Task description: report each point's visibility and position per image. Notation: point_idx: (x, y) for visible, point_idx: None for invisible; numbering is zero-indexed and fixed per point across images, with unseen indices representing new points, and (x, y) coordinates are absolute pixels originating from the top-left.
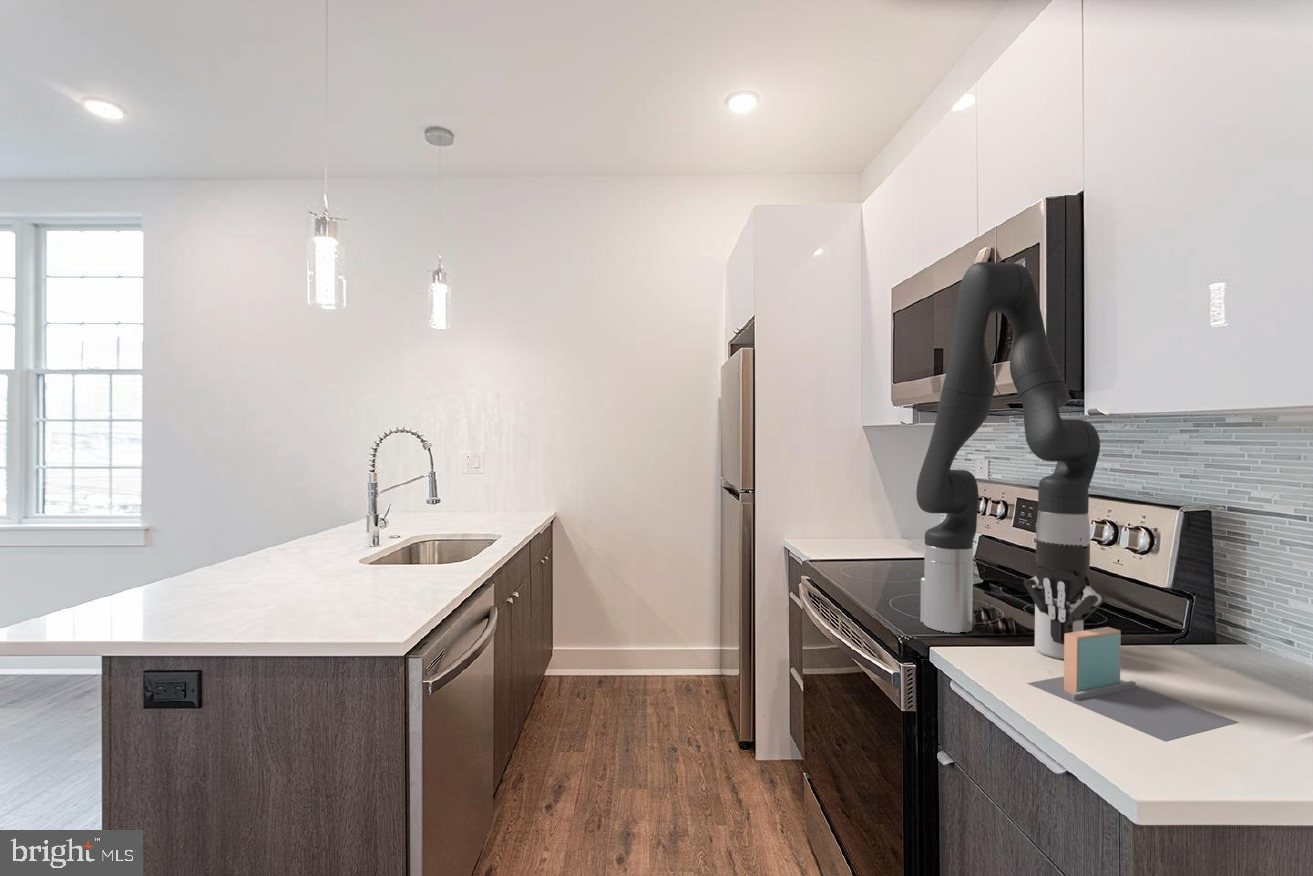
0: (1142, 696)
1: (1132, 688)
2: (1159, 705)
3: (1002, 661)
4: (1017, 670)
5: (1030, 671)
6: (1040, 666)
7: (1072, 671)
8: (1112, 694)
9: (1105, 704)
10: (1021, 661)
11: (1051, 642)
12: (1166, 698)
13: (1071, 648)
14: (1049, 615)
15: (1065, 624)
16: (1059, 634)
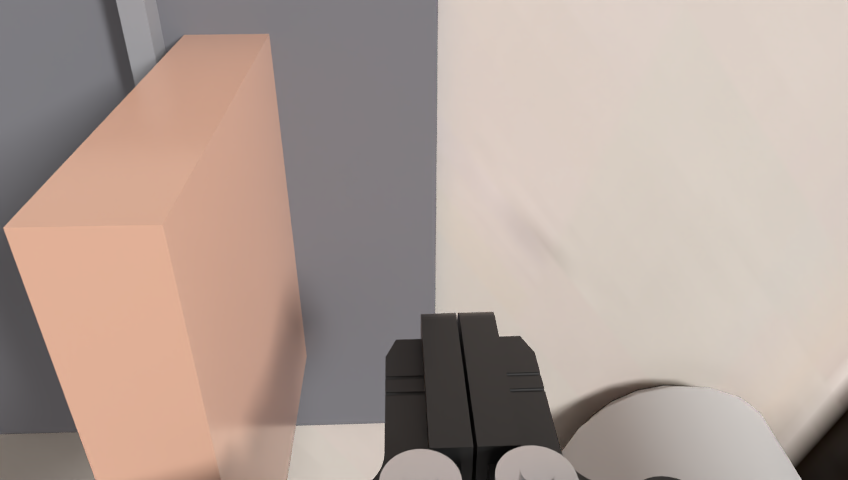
0: None
1: None
2: (4, 319)
3: (784, 126)
4: (644, 83)
5: (594, 146)
6: (613, 262)
7: (172, 83)
8: None
9: (33, 75)
10: (716, 231)
11: (668, 449)
12: None
13: (119, 157)
14: (564, 472)
15: (397, 454)
16: (438, 359)
